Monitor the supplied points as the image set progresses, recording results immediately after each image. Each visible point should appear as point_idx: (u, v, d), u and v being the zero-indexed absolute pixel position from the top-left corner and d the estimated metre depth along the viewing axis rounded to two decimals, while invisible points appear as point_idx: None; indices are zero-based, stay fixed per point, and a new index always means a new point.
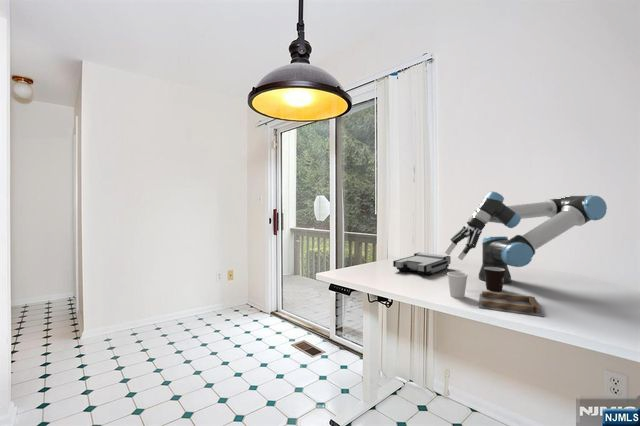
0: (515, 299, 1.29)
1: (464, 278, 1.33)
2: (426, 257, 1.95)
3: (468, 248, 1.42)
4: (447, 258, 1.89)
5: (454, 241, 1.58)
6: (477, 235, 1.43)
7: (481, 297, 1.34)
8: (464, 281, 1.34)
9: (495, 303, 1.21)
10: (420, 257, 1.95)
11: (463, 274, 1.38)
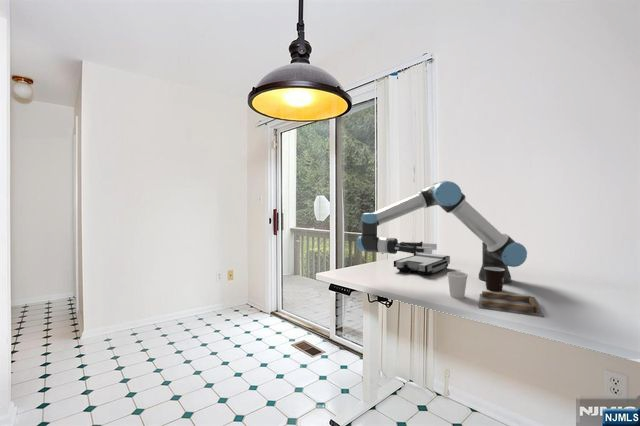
0: (515, 299, 1.29)
1: (464, 278, 1.33)
2: (426, 257, 1.95)
3: (417, 250, 1.37)
4: (447, 258, 1.89)
5: (420, 246, 1.51)
6: (400, 248, 1.41)
7: (481, 297, 1.34)
8: (464, 281, 1.34)
9: (495, 303, 1.21)
10: (420, 257, 1.95)
11: (463, 274, 1.38)
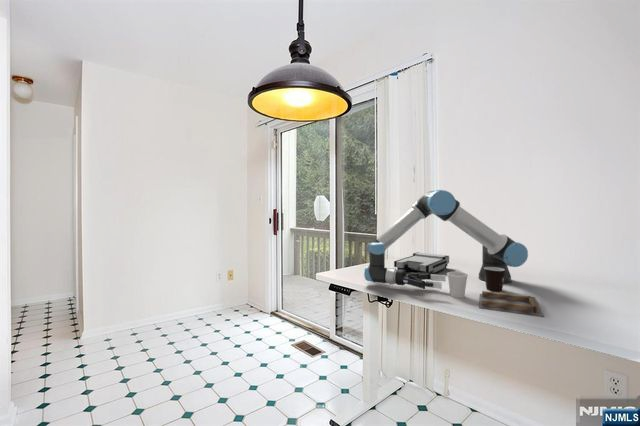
0: (515, 299, 1.29)
1: (464, 278, 1.33)
2: (425, 257, 1.95)
3: (426, 284, 1.35)
4: (446, 258, 1.90)
5: (428, 276, 1.49)
6: (409, 281, 1.39)
7: (481, 297, 1.34)
8: (464, 281, 1.34)
9: (495, 303, 1.21)
10: (419, 257, 1.95)
11: (463, 274, 1.38)
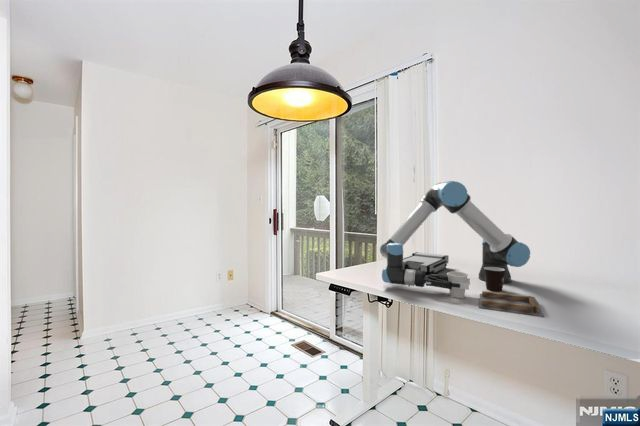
0: (515, 299, 1.29)
1: (464, 278, 1.33)
2: (425, 257, 1.96)
3: (453, 285, 1.32)
4: (446, 257, 1.91)
5: None
6: (433, 283, 1.35)
7: (481, 297, 1.34)
8: (464, 280, 1.34)
9: (495, 303, 1.21)
10: (419, 257, 1.95)
11: (463, 274, 1.38)
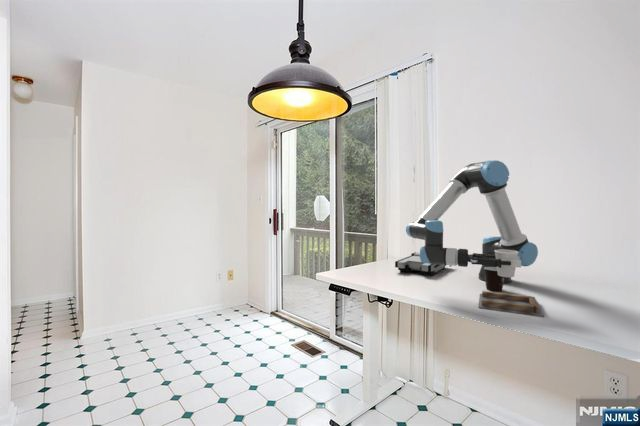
0: (515, 299, 1.29)
1: (515, 255, 1.22)
2: None
3: (503, 263, 1.21)
4: None
5: None
6: (480, 261, 1.24)
7: (481, 297, 1.34)
8: (514, 258, 1.22)
9: (495, 303, 1.21)
10: (418, 257, 1.96)
11: (512, 252, 1.26)
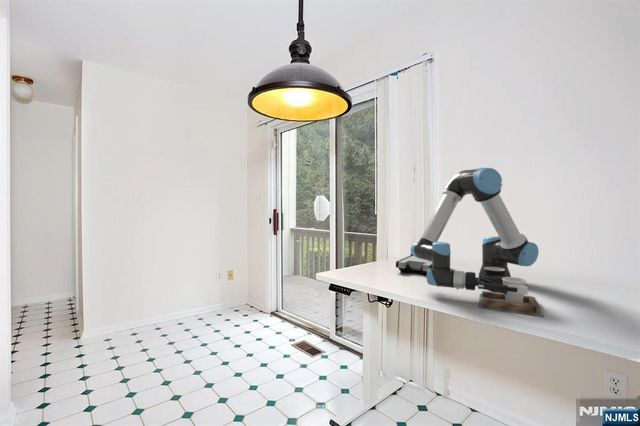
0: None
1: (523, 284, 1.21)
2: None
3: (509, 289, 1.19)
4: None
5: None
6: (486, 286, 1.23)
7: (481, 297, 1.34)
8: None
9: (495, 303, 1.21)
10: None
11: (519, 279, 1.26)
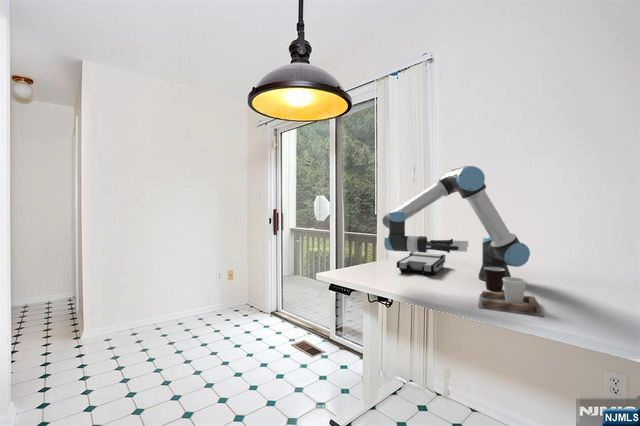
0: None
1: (523, 284, 1.21)
2: (423, 257, 1.96)
3: (451, 248, 1.32)
4: (443, 257, 1.93)
5: (450, 243, 1.46)
6: (433, 246, 1.36)
7: (481, 297, 1.34)
8: (523, 287, 1.21)
9: (495, 303, 1.21)
10: (417, 257, 1.96)
11: (520, 280, 1.26)
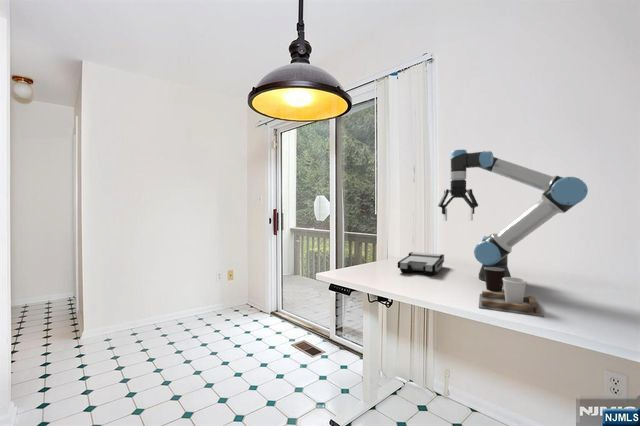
0: None
1: (523, 284, 1.21)
2: (422, 256, 1.97)
3: (442, 209, 1.63)
4: (443, 257, 1.94)
5: (471, 206, 1.64)
6: (444, 194, 1.63)
7: (481, 297, 1.34)
8: (523, 287, 1.21)
9: (495, 303, 1.21)
10: (417, 257, 1.96)
11: (520, 280, 1.26)
